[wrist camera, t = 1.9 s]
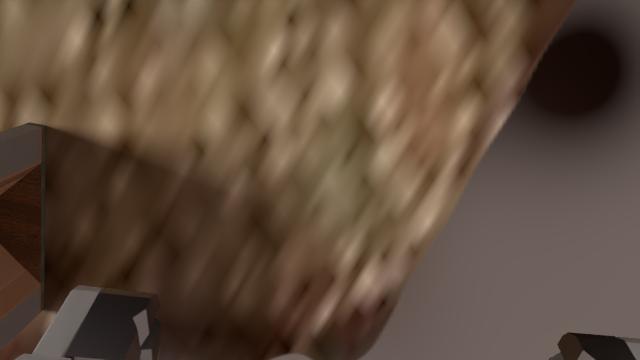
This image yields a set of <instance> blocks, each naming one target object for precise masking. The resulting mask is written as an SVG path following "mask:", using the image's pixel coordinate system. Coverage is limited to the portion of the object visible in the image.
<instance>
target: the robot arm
mask: <svg viewBox="0 0 640 360" xmlns="http://www.w3.org/2000/svg"><path fill="white" fill-rule="evenodd" d="M158 309H159V300H158V295H157V294H154V293H146V292H137V291H129V290H121V289H112V288H101V287H92V286H84V285H78V286H77V287H75V288H74V289H73V290H72V291H71V292H70V293H69V295H68V297H67V298H66V300H65V302H64V303H63V305H62V306H61V308H60V310H59V311H58V313H57V314H56V316H55V318H54V319H53V321H52V323H51V324H50V326H49V327H48V329H47V331H46V332H45V334H44V335H43V337H42V339H41V340H40V342H39V343H38V345H37V347H36V348H35V350H34V352H33V353H32V354H22V355H21V356H19V357H18V358H16V359H15V360H157V359H158V355H159V351H160V346H161V338H162V327H161V322H160V321H159V320H158V319H157V318H156V315H157V312H158ZM558 347H559V349H560V351H561V352H560V353H558V354H557V355H555V356H553V357H551V358H550V359H549V360H640V339H638V338H627V337H615V336H607V335H594V334H582V333H570V332H568V333H566V334H565V335H563V336H562V337H561V339H560V341H559V342H558Z"/></svg>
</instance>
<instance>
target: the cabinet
mask: <svg viewBox="0 0 640 360" xmlns="http://www.w3.org/2000/svg"><path fill="white" fill-rule="evenodd" d="M45 153H46V126H44V125H39V124H34V123H27V124H24V125H21V126H18V127H15V128H12V129H9V130H6V131H3V132H0V351H1V350H2V349H3V348H4V347H5V346H6V345H7V344H8V343H9V342H10V341H11V340H12V339H13V338H14V337H15V336H16V335H17V334H18V333H19V332H20V331H22V330H23V329H24V328H25V327H26V326H27V325H28V324H29V323H30V322H31V321H32V320H33V319H34V318H35V317H36V316H37V315H38V314H39V313H40V312H41V311H43V310H44V268H45Z"/></svg>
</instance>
